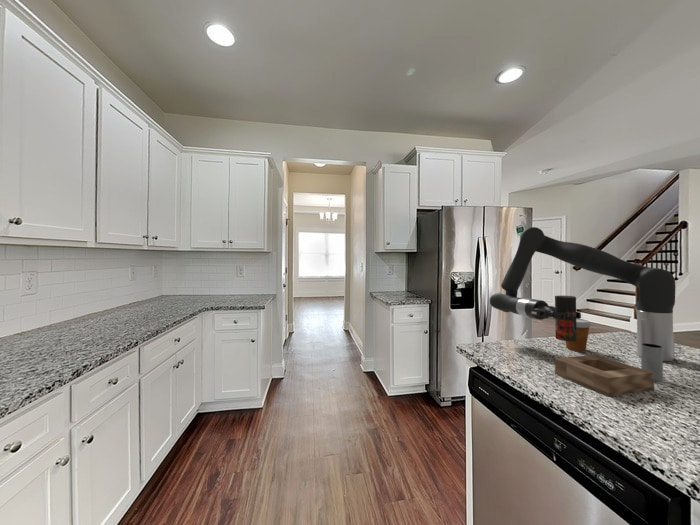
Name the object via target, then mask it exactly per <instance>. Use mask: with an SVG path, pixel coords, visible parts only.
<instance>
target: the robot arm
mask: <svg viewBox="0 0 700 525" xmlns="http://www.w3.org/2000/svg"><path fill="white" fill-rule="evenodd" d="M536 252H537V253H540V254H544V255H548V256H551V257H553V258H555V259H558V260H560V261H563V262H564V263H567V264H570V265H572V266H574V267H577V268H580V269H582V270H586V271H589V272H591V273H596V274H598V275H599V274H600V275H604V276H607V277H611V278H615V279H618V280H620V281H623V282H625V283H627V284H630V285H632V286H633V287H637V288H638V301H637V302H636V329H637V330H636V340H637V342H636V343H637V344H636V351H637V352H636V353H637V354H636V355H637V356H639V357H641V344H643V343H648V344H655V345H660V346H662V347H663V362H673V361H674V360H675V333H674V307H675V305H676V304H675V303H676V279H675V276H674V275H673V274H672V273H671V272H670V271H669V270H666V269H663V268H657V267H649V266H645V265H640V264H636V263H634V262H629V261H626V260H623V259H622V258H619V257H617V256H615V255H613V254H611V253H608V252H606V251H604V250H601V249H598V248H596V247H592V246H589V245H585V244H581V243H576V242H570V241H563V240H562V241H561V240H558V239H555V238H552V237H551V236H548V235H545V234H544V232H543V230H542V229H541V228H539V227H535V226H532V227H531V226H530V227H528V228H525V229H524V230H523V231H522V232H521V234H520V236H519V243H518V247H517V250H516V253H515V256H514V258H513V260H512V262H511V263H510V265H509V267H508V270H507V272H506V274H505V275H504V278H503V279H502V282H501V284H500V287H501V288H502V289H503V290H504V291H505V294H504V293H499V292H498V293H497V292H496V293H494V294H492V295H491V296H490V298H489V304H490V306H491V307H493V309H496V310H499V311H502V312H504V313H513V314H514V315H519V316H520V315H521V316H523V317H525V318H531V319H534V320H538V321H542V320H545V319H555V318H556V319H561V320H565V314H564V313H559V312H555V305H554V306H553V305H549V304H548V303H547V302H546V301H544V300H542V299H541V300H540V299H534V298H523V297H518V291H519V288H520V286H521V285H522V282H523V280H524V278H525V275H526V272H527V270H528V266H529V264H530V262H531V260H532V258H533V256H534V255H535V253H536ZM576 318H577V319H582V313H581V312H580V311H576Z"/></svg>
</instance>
